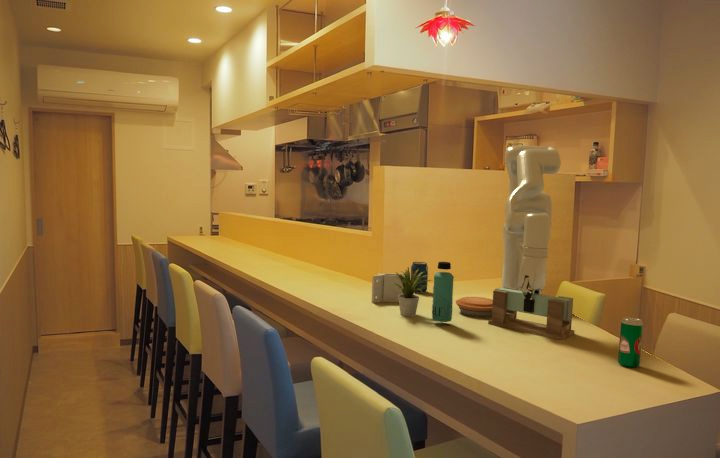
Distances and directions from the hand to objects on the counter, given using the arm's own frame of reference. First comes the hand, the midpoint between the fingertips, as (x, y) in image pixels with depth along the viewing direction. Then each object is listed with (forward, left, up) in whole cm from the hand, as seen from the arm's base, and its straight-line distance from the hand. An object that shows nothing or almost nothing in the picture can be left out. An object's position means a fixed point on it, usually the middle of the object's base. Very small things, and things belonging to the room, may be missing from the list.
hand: (531, 310), depth 173 cm
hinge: (+4, -54, -6) cm, 55 cm away
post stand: (0, 0, -6) cm, 6 cm away
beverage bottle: (+17, -22, -6) cm, 28 cm away
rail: (0, 0, -1) cm, 1 cm away
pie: (-6, -22, -6) cm, 24 cm away
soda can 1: (-20, -57, -6) cm, 61 cm away
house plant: (+16, -36, -6) cm, 40 cm away
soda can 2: (+15, +33, -6) cm, 37 cm away
